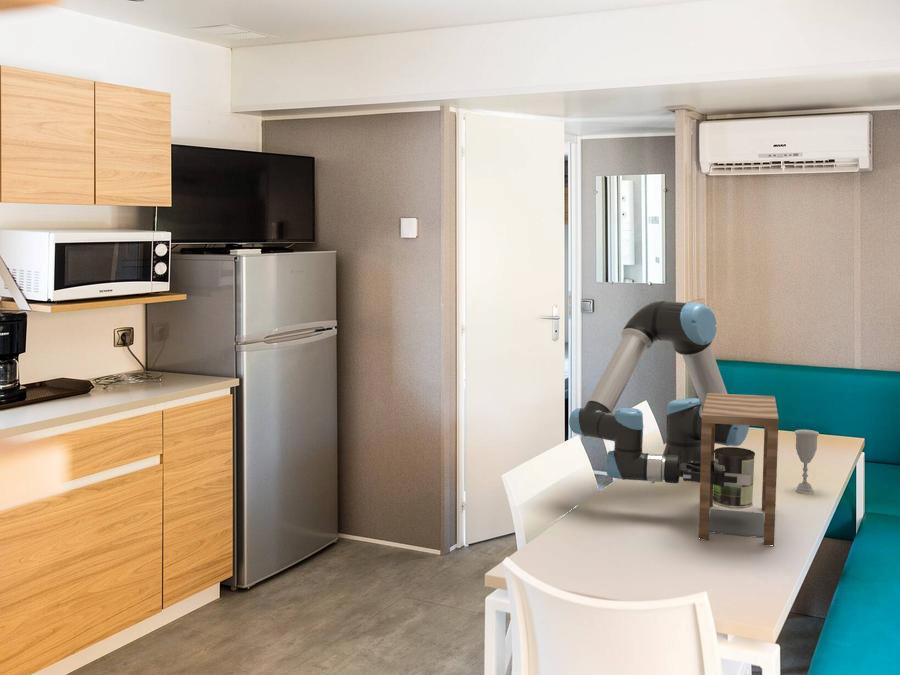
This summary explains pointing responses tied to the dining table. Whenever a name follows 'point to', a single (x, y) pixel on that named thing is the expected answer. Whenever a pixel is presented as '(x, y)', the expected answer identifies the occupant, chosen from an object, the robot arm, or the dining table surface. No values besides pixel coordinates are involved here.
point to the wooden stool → (763, 414)
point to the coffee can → (738, 464)
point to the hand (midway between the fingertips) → (750, 475)
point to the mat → (736, 522)
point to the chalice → (805, 455)
